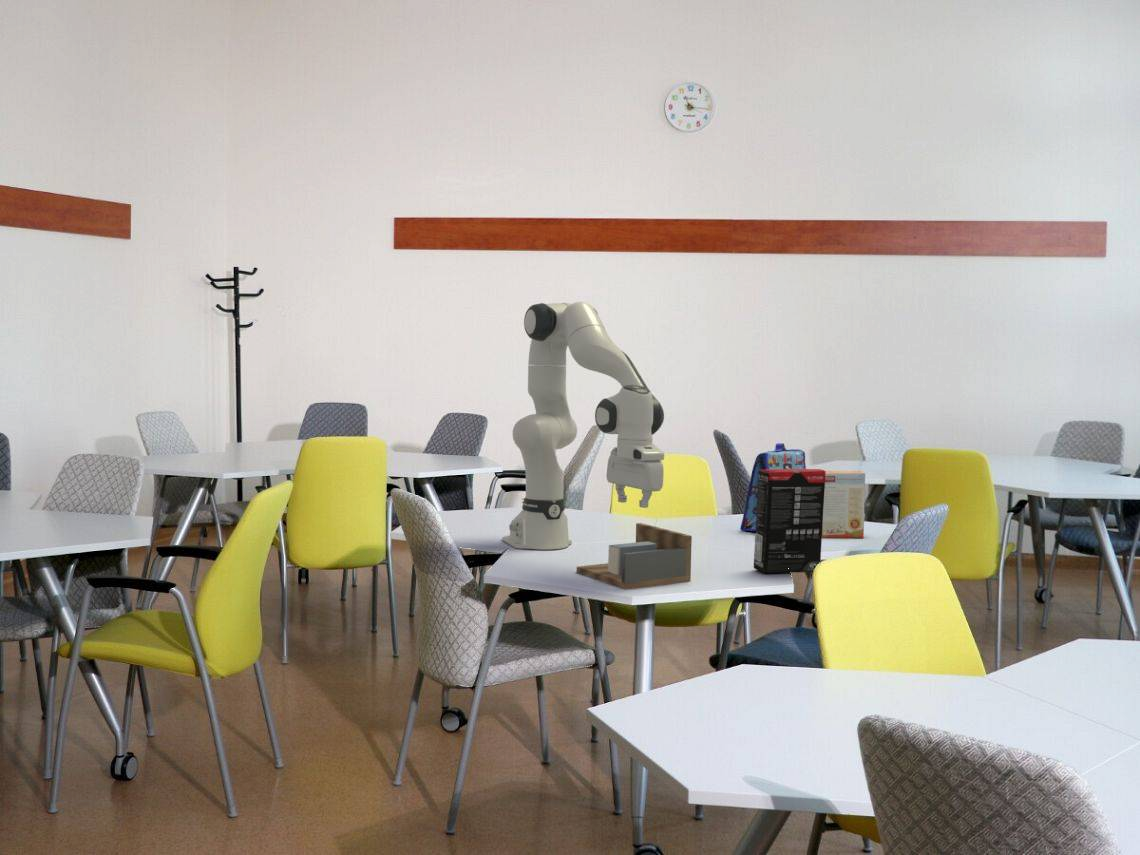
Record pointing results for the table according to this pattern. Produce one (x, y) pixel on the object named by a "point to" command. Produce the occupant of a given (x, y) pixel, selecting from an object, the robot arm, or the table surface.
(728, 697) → the table surface
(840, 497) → the cracker box
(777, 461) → the lunch bag
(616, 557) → the grey rectangular box
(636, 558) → the grey thin upright panel
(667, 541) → the shelf
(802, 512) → the graphics card box
